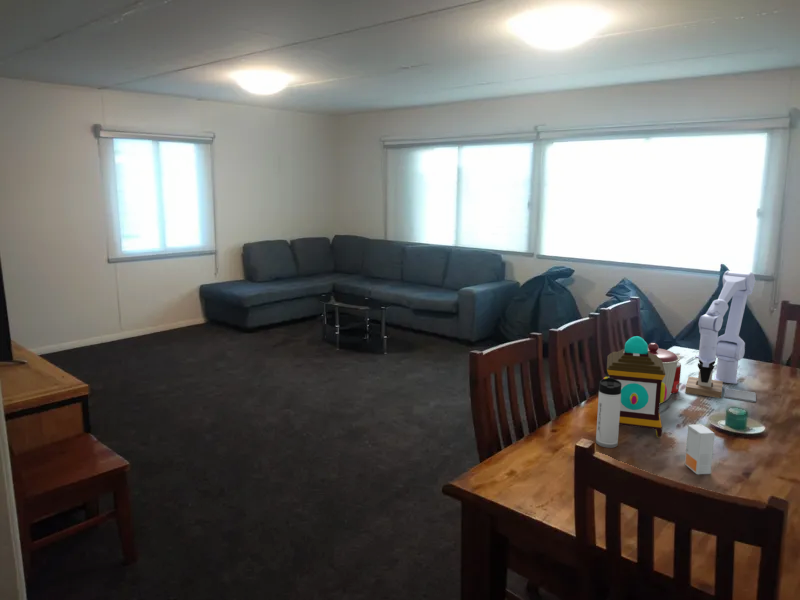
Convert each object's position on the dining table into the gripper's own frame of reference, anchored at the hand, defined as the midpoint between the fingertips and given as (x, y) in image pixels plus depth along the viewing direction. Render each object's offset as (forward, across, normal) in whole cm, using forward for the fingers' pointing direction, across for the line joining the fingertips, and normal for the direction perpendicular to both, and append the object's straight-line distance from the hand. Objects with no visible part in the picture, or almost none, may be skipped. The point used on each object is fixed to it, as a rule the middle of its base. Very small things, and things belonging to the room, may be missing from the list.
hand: (704, 380), depth 222 cm
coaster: (+4, +1, +12) cm, 13 cm away
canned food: (+4, +7, -12) cm, 15 cm away
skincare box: (+4, +73, +2) cm, 73 cm away
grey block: (+3, 0, 0) cm, 3 cm away
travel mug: (+4, +68, -23) cm, 72 cm away
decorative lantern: (+4, +49, -19) cm, 53 cm away
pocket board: (+4, 0, 0) cm, 4 cm away
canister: (+4, +20, -17) cm, 27 cm away
